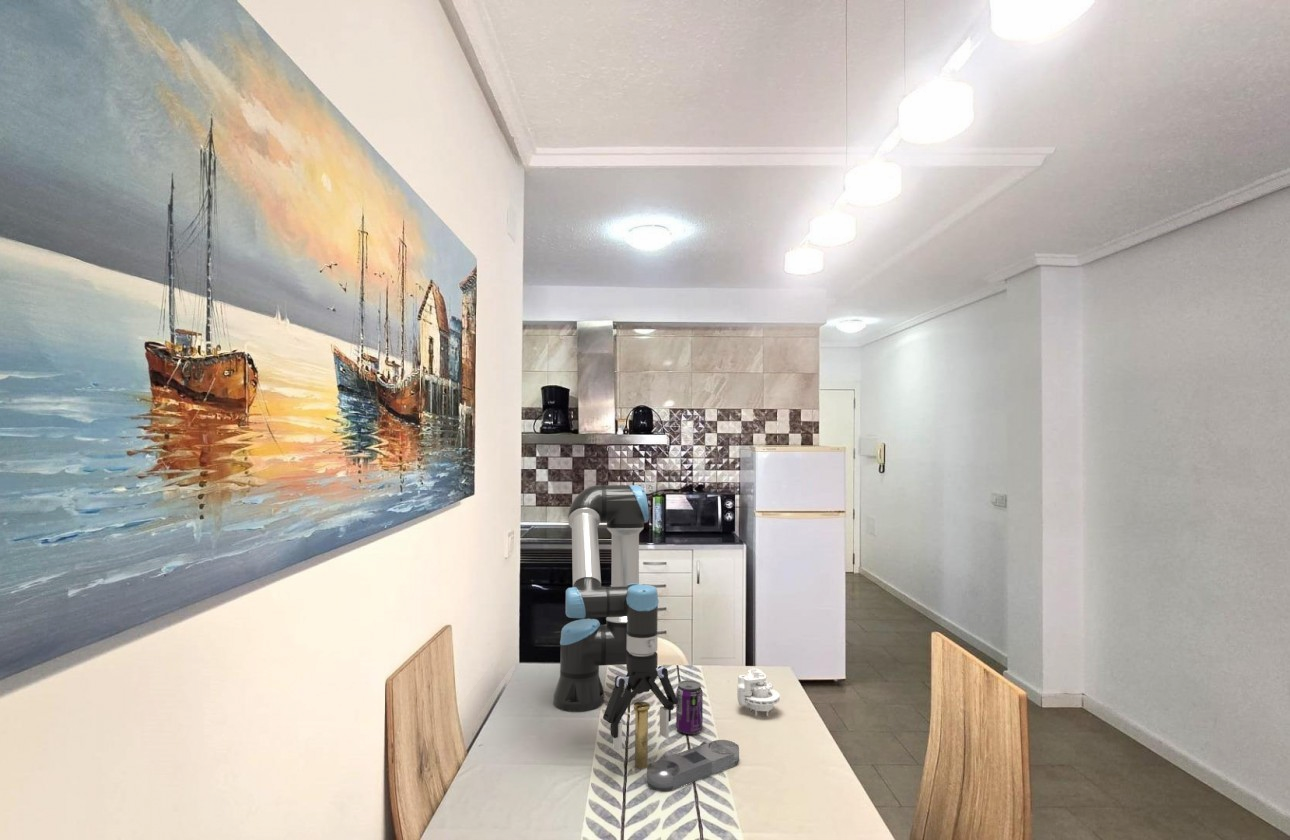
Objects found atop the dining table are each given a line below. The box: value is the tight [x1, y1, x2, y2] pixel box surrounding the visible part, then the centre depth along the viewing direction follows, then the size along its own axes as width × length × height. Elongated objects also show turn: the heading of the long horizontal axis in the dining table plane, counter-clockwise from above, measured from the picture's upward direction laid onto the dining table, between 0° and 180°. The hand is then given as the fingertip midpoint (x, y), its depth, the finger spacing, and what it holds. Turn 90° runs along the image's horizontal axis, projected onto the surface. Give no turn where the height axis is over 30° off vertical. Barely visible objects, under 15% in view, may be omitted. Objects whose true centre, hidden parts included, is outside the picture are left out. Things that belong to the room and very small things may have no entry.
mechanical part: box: [736, 667, 780, 717], centre depth 171 cm, size 11×12×12 cm
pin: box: [633, 700, 650, 769], centre depth 141 cm, size 4×4×14 cm
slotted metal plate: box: [646, 739, 740, 793], centre depth 138 cm, size 7×26×3 cm, turn 124°
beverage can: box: [675, 679, 704, 735], centre depth 159 cm, size 7×7×12 cm
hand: (641, 743), depth 141 cm, fingers open, 13 cm apart
